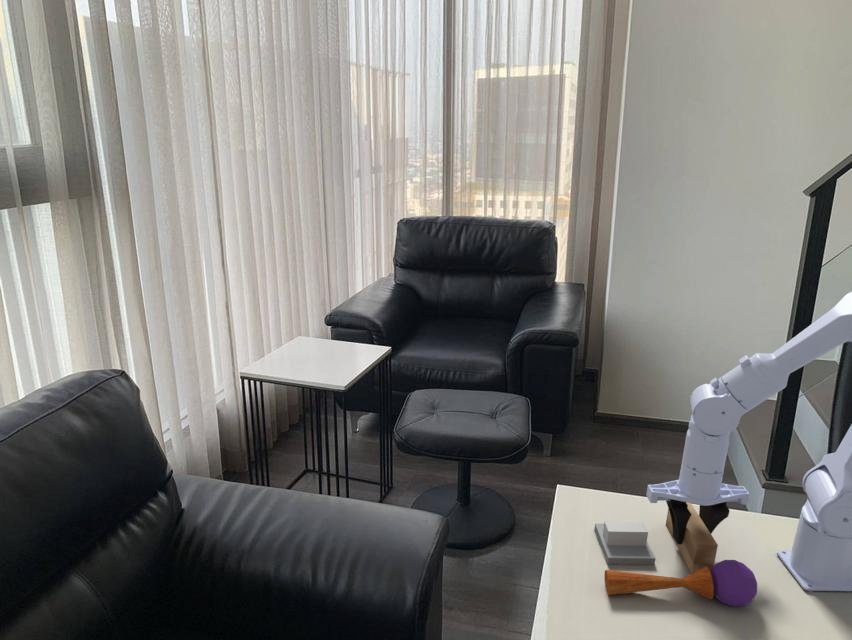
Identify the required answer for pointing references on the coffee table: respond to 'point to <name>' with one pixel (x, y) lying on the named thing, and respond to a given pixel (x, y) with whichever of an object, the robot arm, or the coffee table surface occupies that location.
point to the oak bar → (695, 542)
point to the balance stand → (625, 543)
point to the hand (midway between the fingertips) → (689, 540)
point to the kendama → (693, 582)
